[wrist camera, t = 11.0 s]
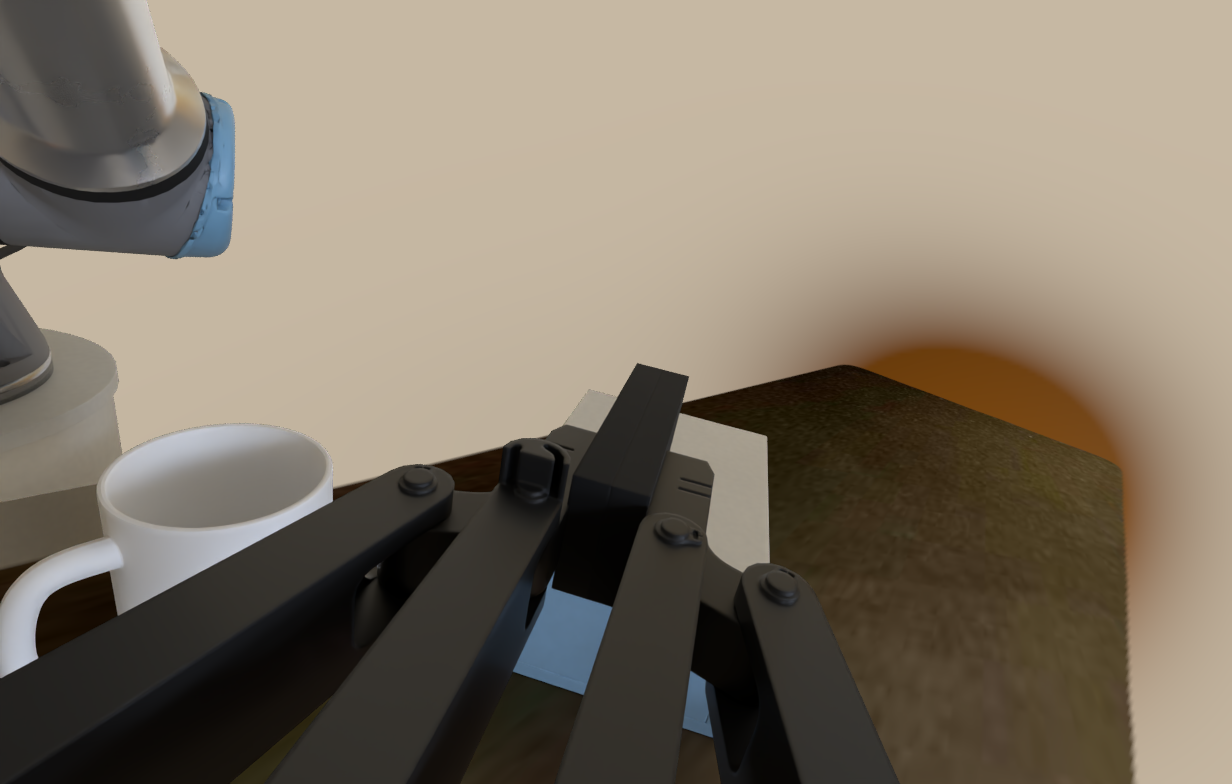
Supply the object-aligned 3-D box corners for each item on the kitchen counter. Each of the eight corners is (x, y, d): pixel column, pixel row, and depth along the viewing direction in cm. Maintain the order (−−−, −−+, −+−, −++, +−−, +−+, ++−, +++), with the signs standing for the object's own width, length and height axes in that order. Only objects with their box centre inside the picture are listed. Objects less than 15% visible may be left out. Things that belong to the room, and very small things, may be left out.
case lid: (587, 399, 44) (589, 389, 43) (763, 446, 42) (767, 436, 42) (495, 528, 29) (497, 514, 28) (765, 610, 27) (770, 596, 27)
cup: (367, 644, 31) (372, 476, 27) (73, 841, 22) (16, 625, 18) (272, 565, 35) (265, 406, 31) (-16, 704, 25) (-81, 499, 21)
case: (565, 503, 46) (583, 403, 43) (731, 551, 44) (763, 452, 41) (477, 660, 32) (495, 529, 29) (717, 739, 30) (764, 611, 27)
